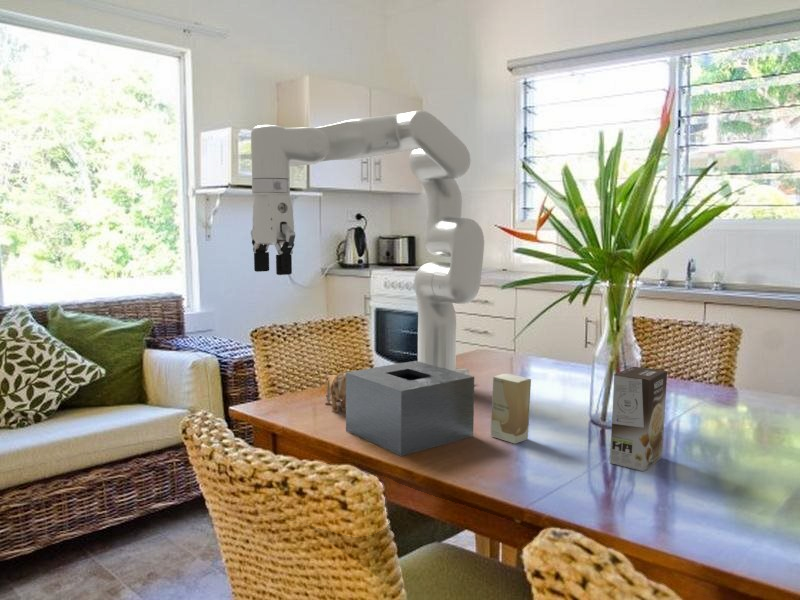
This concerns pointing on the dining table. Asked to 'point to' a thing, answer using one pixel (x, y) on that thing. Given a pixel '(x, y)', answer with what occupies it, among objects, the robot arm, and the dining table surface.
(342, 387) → the tan spotted animal figure
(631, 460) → the coffee box
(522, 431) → the skincare box
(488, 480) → the dining table surface
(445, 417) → the box
